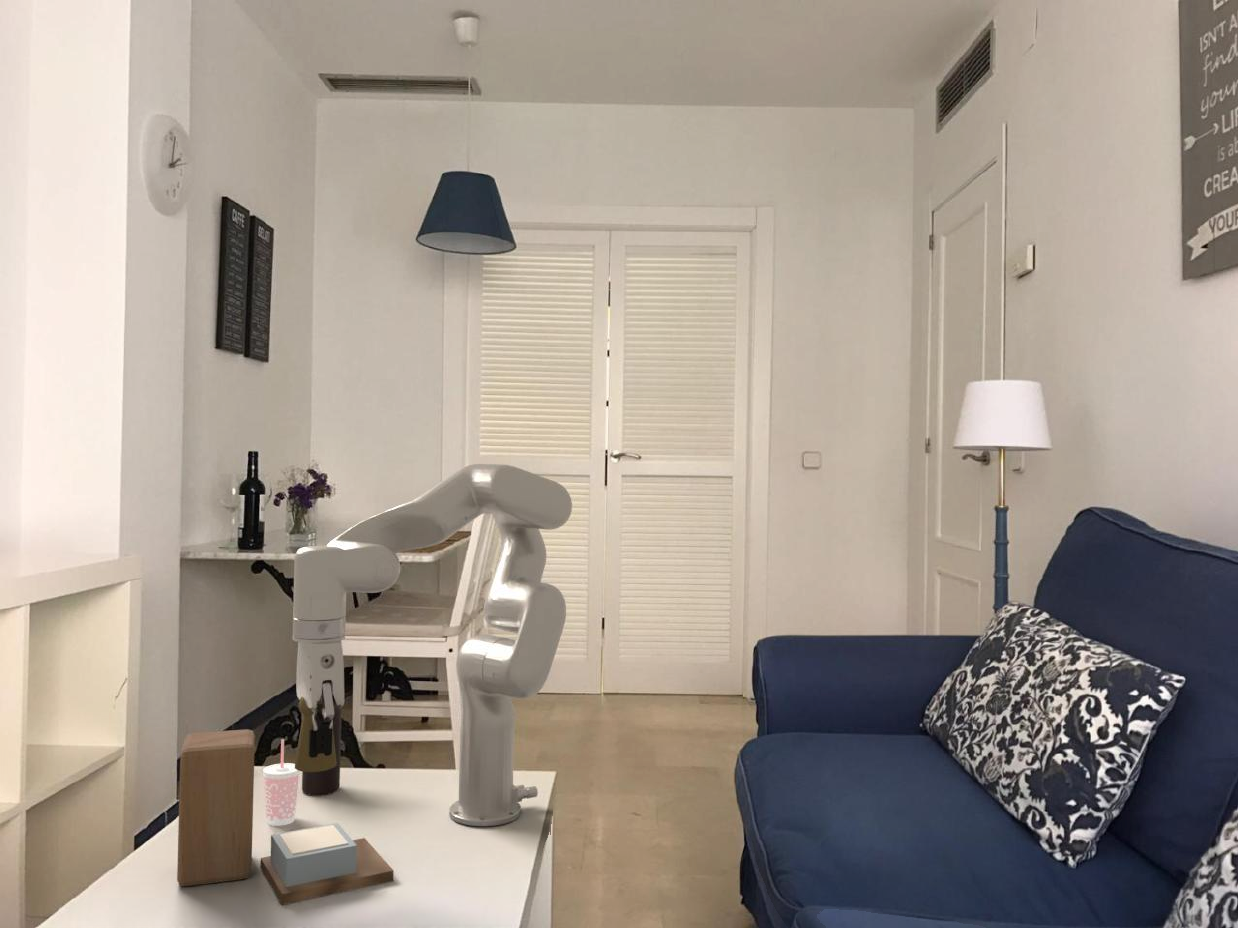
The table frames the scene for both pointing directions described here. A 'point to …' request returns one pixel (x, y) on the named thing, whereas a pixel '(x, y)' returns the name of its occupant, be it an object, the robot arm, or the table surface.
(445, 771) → the table surface
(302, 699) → the olive pawn
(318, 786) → the bottle
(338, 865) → the slate plinth
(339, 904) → the table surface
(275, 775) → the beverage cup
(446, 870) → the table surface
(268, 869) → the brown board
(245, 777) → the block
